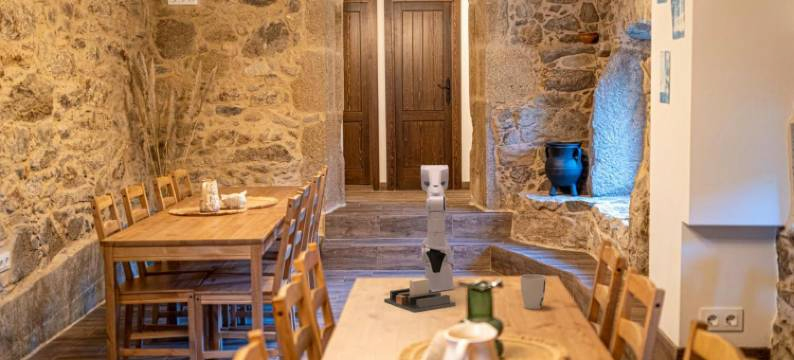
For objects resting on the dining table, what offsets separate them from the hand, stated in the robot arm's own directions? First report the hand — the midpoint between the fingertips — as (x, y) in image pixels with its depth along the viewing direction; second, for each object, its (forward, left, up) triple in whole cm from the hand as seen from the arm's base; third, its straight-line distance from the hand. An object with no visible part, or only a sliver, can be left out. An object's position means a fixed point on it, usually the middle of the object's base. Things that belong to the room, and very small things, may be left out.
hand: (436, 272), depth 300 cm
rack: (+7, +1, -10) cm, 12 cm away
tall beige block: (+7, +1, -9) cm, 11 cm away
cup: (-20, +26, -10) cm, 34 cm away
